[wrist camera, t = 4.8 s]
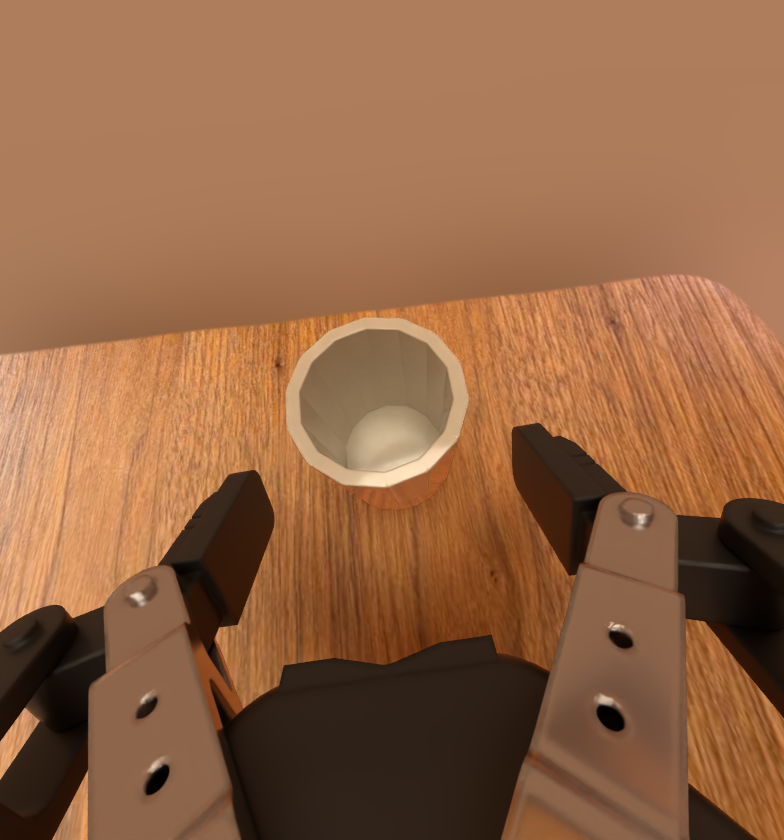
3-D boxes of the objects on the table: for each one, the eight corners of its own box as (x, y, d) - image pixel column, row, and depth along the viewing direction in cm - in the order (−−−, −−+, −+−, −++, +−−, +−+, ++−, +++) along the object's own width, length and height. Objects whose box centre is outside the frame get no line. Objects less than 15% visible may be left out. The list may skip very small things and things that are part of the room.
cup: (375, 383, 21) (346, 292, 13) (471, 433, 19) (501, 361, 12) (317, 473, 19) (248, 427, 12) (416, 533, 18) (410, 526, 10)
